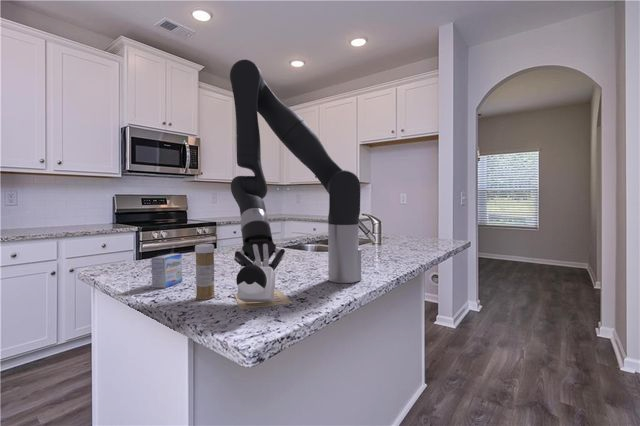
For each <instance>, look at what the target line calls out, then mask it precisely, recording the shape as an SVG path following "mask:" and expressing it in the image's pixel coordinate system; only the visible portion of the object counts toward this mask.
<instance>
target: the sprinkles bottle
mask: <svg viewBox="0 0 640 426" xmlns="http://www.w3.org/2000/svg"><path fill="white" fill-rule="evenodd" d="M194 252H195V286H196V288H195V289H196V291H195V292H196V295H195V298H196V299H197V300H201V301H202V300H203V301H204V300H205V301H206V300H211V299H214V297H216V294H215V245H214V244H213V243H200V244H196V245H195V246H194Z"/></svg>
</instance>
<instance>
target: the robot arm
mask: <svg viewBox="0 0 640 426" xmlns="http://www.w3.org/2000/svg"><path fill="white" fill-rule="evenodd" d="M229 80H230V83H231V90H232V94H233V95H232V96H233V101H234V109H235V133H236V135H235V136H236V137H235V138H236V140H235V142H236V144H235V147H236V164H237V166H238V167H239V168H242V169H248V170H250V171H251V172H253V175H237V176H234V178H232V180H231V183H230V192H231V194H232V196H233V199H234V200H235V203H236V204H237V206H238V208H239V213H240V231H241V237H242V238H241V239H242V246H241V250H237V251H234V257H233V260H234V261H235V262H236V263H237V264H238V265H240V267H241V266H247V265H256V266H259V267H271V268H272V269H273V270H274V271H275V270H276V269H277V267H278V266H279V264H280V263H281V262H282V260H283V259H284V256H285V253H286V250H285V249H284V248H281V249H280V248H278V247H277V246H276V244H275V243H274V241H273V236H272V230H271V226H270V221H269V217H268V214H267V209H266V205H265V201H264V200H263V199H264V198H265V197H266V196H267V193H268V184H267V181H266V178H265V174H264V171H263V167H262V159H261V157H262V156H261V155H262V154H261V153H262V150H261V149H262V148H261V132H260V126H259V125H260V124H259V118H258V114H259V115H260V116H261V117H262V118H263V119H264V121H265V123H267V125H268V126H269V128H270V129H271V130H272V131H273V133H274V134H275V136H276V137H277V138H278V139H279V140H280V142H281V143H282V144H283V145H284V146H285V147H286V148H287V149H288V150H289V152H291V154H293V156H294V157H295V158H297V160H298V161H299V162H301V163H302V164H303V165H304V167H306V168H308V169H309V170H310V171H311V172H312V173H313V175H314V176H315V177H316V178H317V179H318V181H319V183H320V184H321V186H323V187H324V189H325V190H326V192H327V193H328V194H329V195H328V196H329V200H328V201H329V203H328V204H329V205H328V207H329V208H328V209H329V210H328V216H327V221H328V222H327V224H328V225H327V227H328V228H327V229H328V234H327V235H328V237H327V238H328V239H327V241H328V242H327V243H328V246H327V247H328V249H327V250H328V251H327V252H328V253H327V255H328V269H327V270H328V272H327V275H328V278H327V279H328V281H329V282H332V283H336V284H352V283H357V282H359V281H362V249H361V248H359V245H360V244H359V242H360V241H359V238H360V236H359V232H360V231H359V228H360V227H359V226H360V225H359V221H360V220H359V219H360V218H359V217H360V213H361V183H360V182H361V181H360V179H359V177H358V175H356V174H355V172H352V171H350V170H346V169H345V170H343V168H342V167H341V166H339V165H338V164H337V163H336V161H334V159H332V158H331V156H330V155H329V153H328V152H327V150H326V149H325V146H324V145H323V144H322V142H321V141H320V139H319V137H318V136H317V134H316V133H315V131H314V130H313V129H312V128H311V127H310V126H309V124H307V122H306V121H305V120H304V119H303V118H302V117H301V115H299V114H298V113H296V112H295V111H294V110H293V109H291V108H290V107H289V106H287V105H286V104H285V103H283V102H282V101H281V100H280V99H279V98H278V97H277V96H276V94H275V93H274V92H273V90H271V88H270V87H269V86H268V83H267V82H266V81H265V79H264V77H263V74H262V71H261V69H260V68H259V66H258V65H257V64H256V63H255V62H254V61H251V60H249V59H240V60H238V61H235V63H234V64H233V65H232V66H231V69H230V71H229ZM273 255H274V258H273V260H272V261H271V262H270V260H271V258H272V256H273ZM269 262H270V263H269Z"/></svg>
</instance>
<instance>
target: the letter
mask: <svg viewBox="0 0 640 426" xmlns="http://www.w3.org/2000/svg"><path fill="white" fill-rule="evenodd" d="M233 297H234V298H235V300H237V301H236V304H237V306H238V307H239V310H240V309H241V310H248V309H257V308H265V307H274V306H275V307H276V306H282V305H290V304H291V305H292V304H293V303H292V301H291V300H290V298H288V296H287V295H285V294H284V293H283V292H282V291H281V289H274V300H273V302H272V303H270V302H244V301H242V300H240V299H238V298H237V293H233Z"/></svg>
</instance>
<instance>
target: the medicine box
mask: <svg viewBox="0 0 640 426" xmlns="http://www.w3.org/2000/svg"><path fill="white" fill-rule="evenodd" d="M182 256H183V255H182V253H168V254H163V255H158V256H154V257H151V259H150V260H151V261H150V262H151V263H150V264H151V286H152V289H153V288H154V289H168V288H170V287H173V286H176V285H178V284H180V283H182V282H183V257H182Z"/></svg>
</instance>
